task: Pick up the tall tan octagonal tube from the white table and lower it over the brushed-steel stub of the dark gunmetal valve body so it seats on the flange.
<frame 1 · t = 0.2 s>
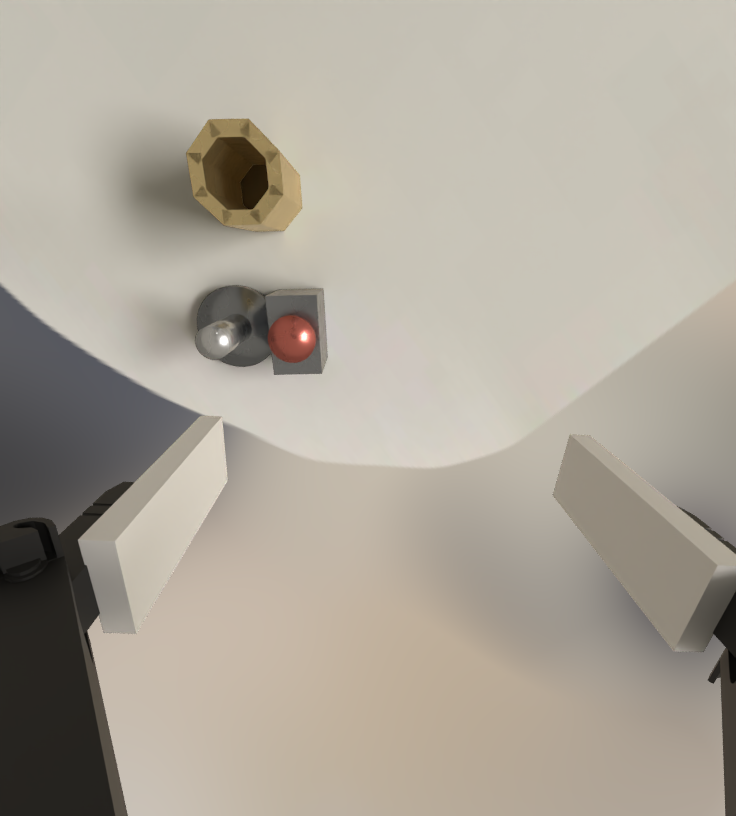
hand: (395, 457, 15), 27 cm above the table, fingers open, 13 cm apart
tan octagonal tube: (266, 192, 35), on the table
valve: (241, 325, 40), on the table
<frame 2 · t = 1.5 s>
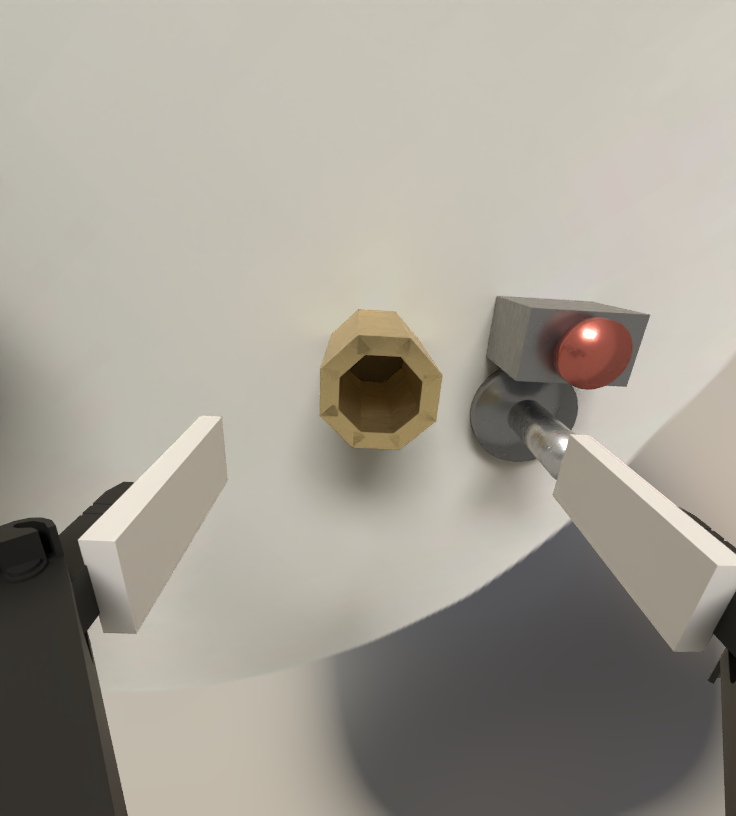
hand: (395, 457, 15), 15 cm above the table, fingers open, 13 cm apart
tan octagonal tube: (374, 353, 29), on the table
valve: (519, 410, 31), on the table
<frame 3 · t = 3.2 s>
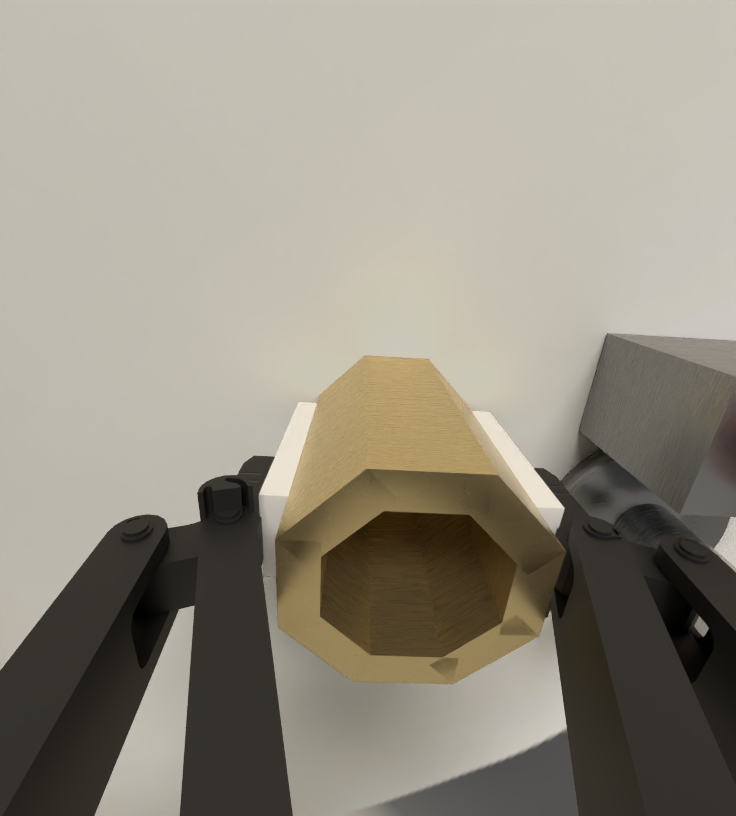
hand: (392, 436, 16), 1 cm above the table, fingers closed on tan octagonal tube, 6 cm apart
tan octagonal tube: (390, 427, 17), on the table, touching gripper
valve: (625, 512, 19), on the table
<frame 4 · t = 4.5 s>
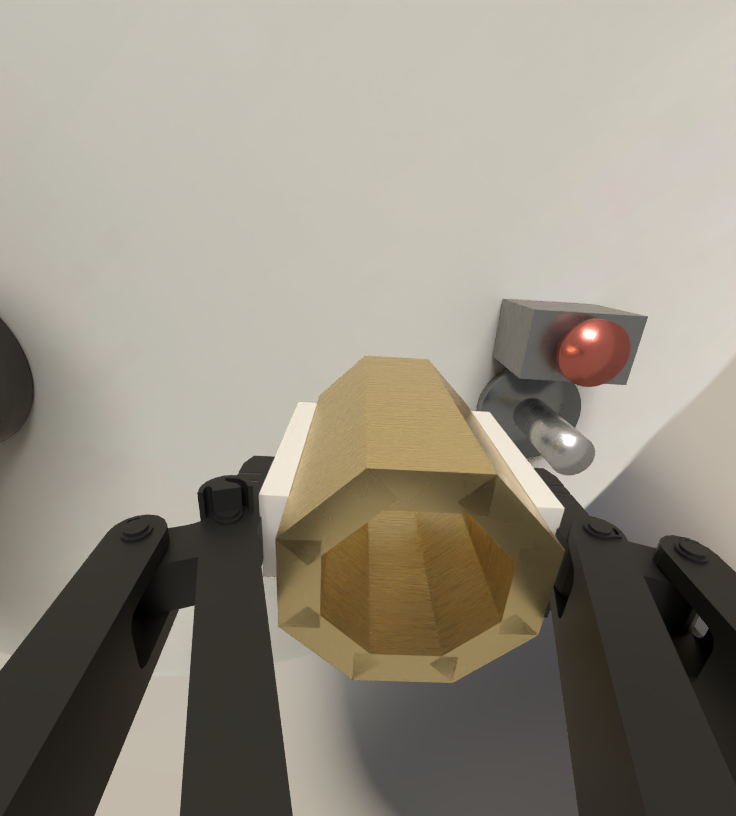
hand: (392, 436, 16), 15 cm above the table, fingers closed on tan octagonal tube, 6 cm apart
tan octagonal tube: (390, 427, 17), point 14 cm above the table, touching gripper
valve: (524, 408, 32), on the table
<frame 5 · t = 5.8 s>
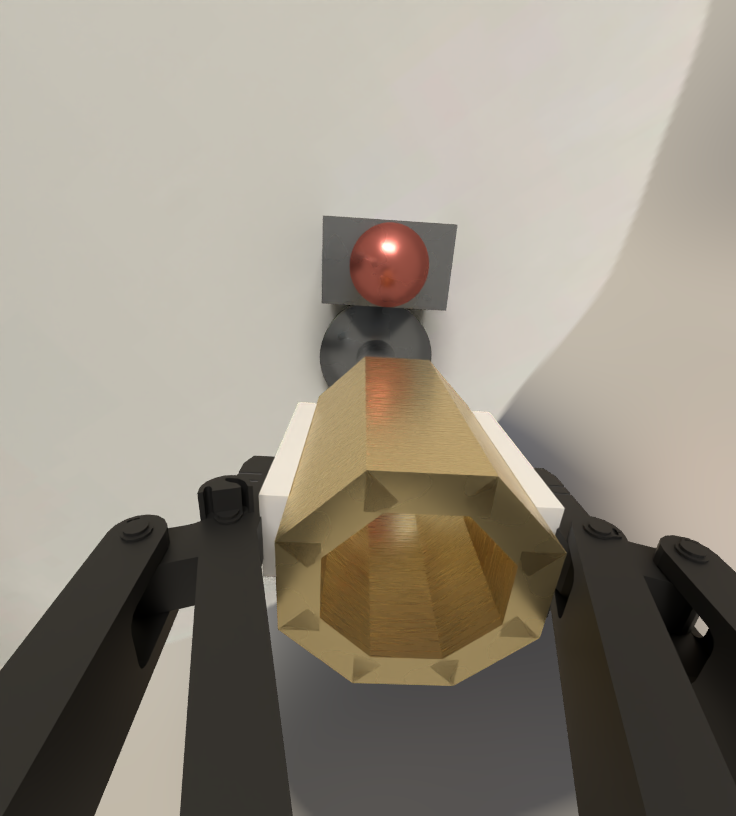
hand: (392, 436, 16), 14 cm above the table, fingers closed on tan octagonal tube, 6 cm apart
tan octagonal tube: (390, 427, 17), point 13 cm above the table, touching gripper
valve: (375, 354, 29), on the table
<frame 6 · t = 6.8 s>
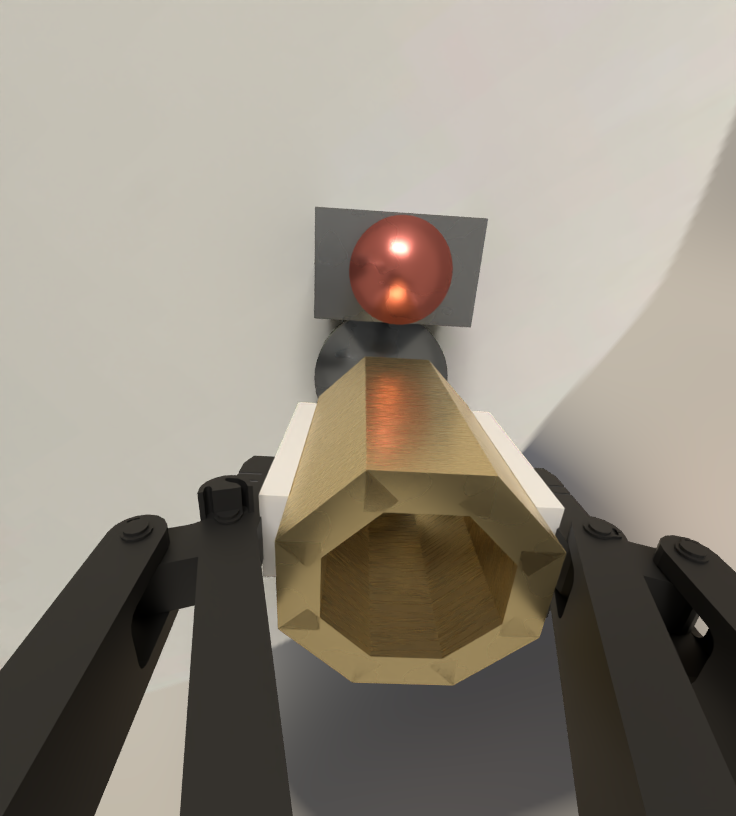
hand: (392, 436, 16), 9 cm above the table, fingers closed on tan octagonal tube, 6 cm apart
tan octagonal tube: (390, 427, 17), point 8 cm above the table, touching gripper
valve: (380, 374, 24), on the table
when the fingers open (5 cm above the table, at t = 7.8 s): tan octagonal tube drops 3 cm, resting on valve.
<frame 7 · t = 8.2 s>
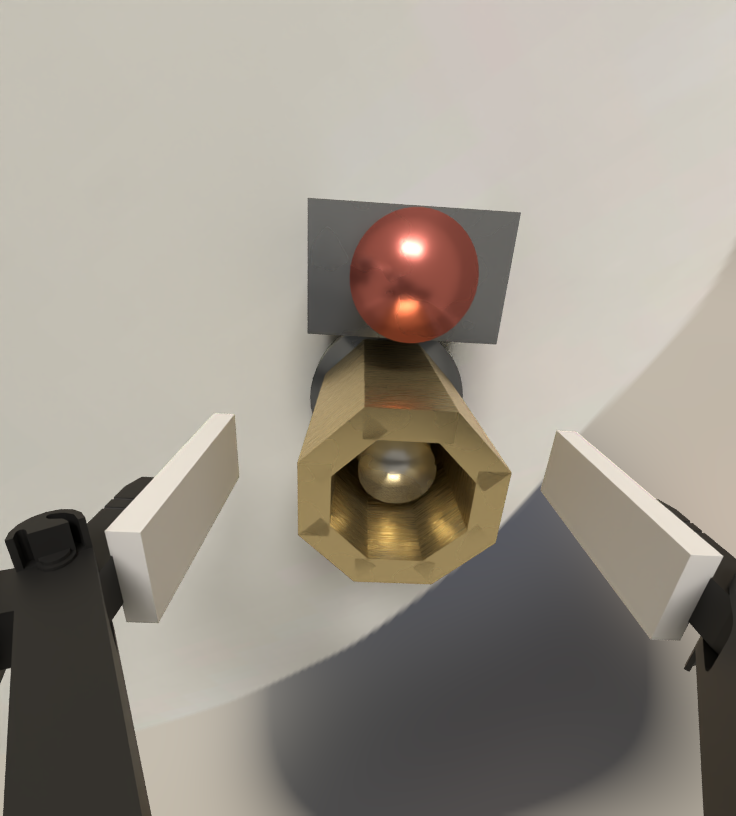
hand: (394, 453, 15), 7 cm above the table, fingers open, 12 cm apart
tan octagonal tube: (385, 400, 20), point 1 cm above the table, touching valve
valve: (385, 393, 21), on the table
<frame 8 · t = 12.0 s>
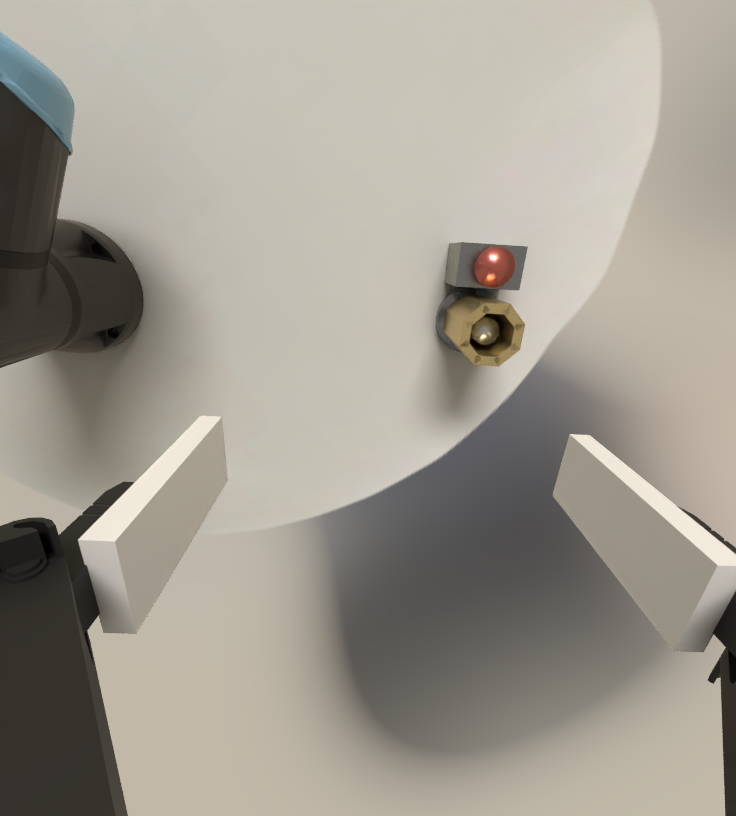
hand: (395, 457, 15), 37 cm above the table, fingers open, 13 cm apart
tan octagonal tube: (469, 321, 48), point 1 cm above the table, touching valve
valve: (467, 319, 49), on the table
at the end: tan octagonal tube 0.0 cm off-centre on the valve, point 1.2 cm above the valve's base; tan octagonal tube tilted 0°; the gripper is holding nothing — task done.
